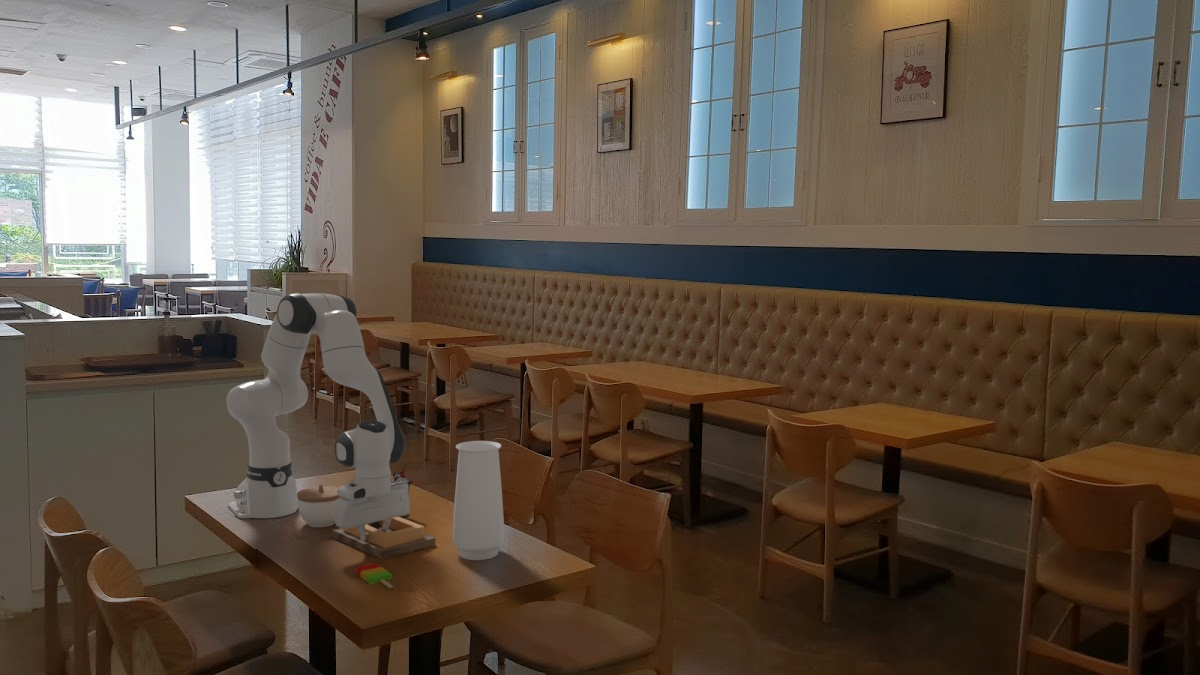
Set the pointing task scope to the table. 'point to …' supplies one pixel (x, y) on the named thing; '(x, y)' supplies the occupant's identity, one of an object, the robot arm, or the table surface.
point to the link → (403, 532)
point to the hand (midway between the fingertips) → (373, 538)
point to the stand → (379, 550)
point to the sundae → (403, 477)
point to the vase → (478, 501)
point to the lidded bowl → (318, 505)
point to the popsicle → (375, 574)
